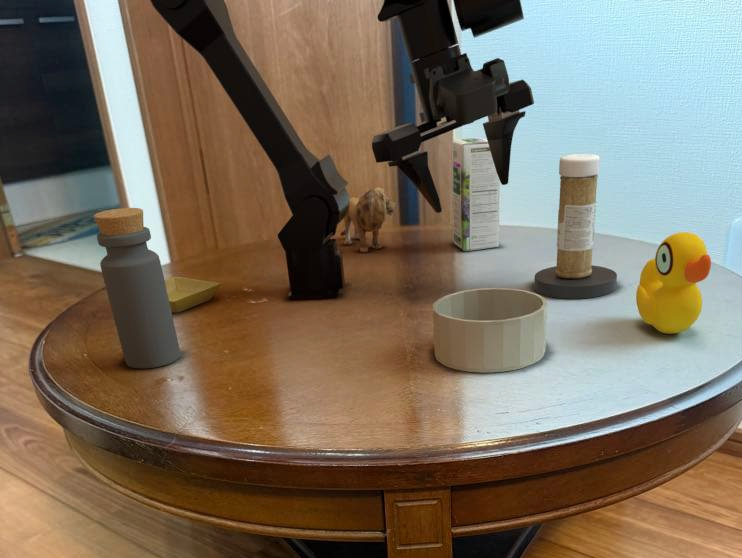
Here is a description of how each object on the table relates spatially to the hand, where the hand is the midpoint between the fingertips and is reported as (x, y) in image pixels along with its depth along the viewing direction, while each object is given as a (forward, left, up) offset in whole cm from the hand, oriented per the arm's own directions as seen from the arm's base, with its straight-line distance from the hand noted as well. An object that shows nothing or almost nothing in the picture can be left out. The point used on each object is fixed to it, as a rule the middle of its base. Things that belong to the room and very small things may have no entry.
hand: (472, 198), depth 96 cm
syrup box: (+1, +23, -11) cm, 26 cm away
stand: (+12, -2, -11) cm, 17 cm away
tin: (0, -24, -11) cm, 26 cm away
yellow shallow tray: (-39, 0, -11) cm, 40 cm away
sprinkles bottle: (+12, -2, -9) cm, 16 cm away
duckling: (+19, -20, -11) cm, 30 cm away
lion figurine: (-16, +27, -11) cm, 33 cm away
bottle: (-36, -21, -11) cm, 42 cm away
